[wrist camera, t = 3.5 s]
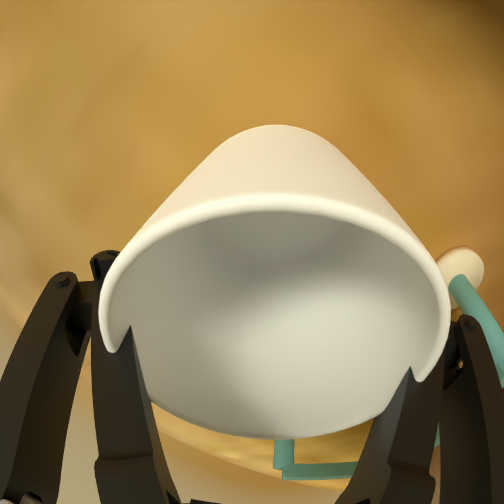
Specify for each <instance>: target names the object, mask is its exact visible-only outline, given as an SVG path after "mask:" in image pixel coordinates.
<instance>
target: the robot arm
mask: <svg viewBox="0 0 504 504" xmlns="http://www.w3.org/2000/svg"><path fill="white" fill-rule="evenodd" d="M119 254H120V252H119V251H115V250H106V251H102V252H99V253H97V254H95V255H94V256H93V257H92V258H91V260H90V265H91V269H92V273H93V277H94V281H83V282H78V279H77V277H76V274H74V273H73V272H68V271H67V272H60V273H58V274H56V275H54V276H53V277H52V278H51V279H50V280H49V282H48V283H47V285H46V287H45V288H44V290H43V292H42V294H41V295H40V297H39V299H38V301H37V303H36V304H35V306H34V308H33V310H32V312H31V314H30V316H29V318H28V320H27V322H26V324H25V326H24V328H23V330H22V332H21V334H20V336H19V338H18V340H17V343H16V344H15V347H14V349H13V351H12V353H11V356H10V358H9V361H8V363H7V365H6V368H5V370H4V373H3V375H2V378H1V381H0V504H56V502H57V498H58V493H59V486H60V478H61V469H62V461H63V454H64V447H65V441H66V435H67V429H68V424H69V419H70V414H71V408H72V404H73V400H74V395H75V391H76V387H77V383H78V379H79V375H80V371H81V367H82V364H83V360H84V357H85V353H86V350H87V346H88V343H89V340H90V337H91V376H92V396H93V408H94V419H95V429H96V437H97V444H98V451H99V456H98V459H97V460H96V461H95V466H94V470H95V478H96V483H97V488H98V493H99V497H100V502H101V504H182V503H181V501H180V498H179V495H178V493H177V490H176V487H175V485H174V483H173V480H172V478H171V475H170V473H169V469H168V466H167V463H166V460H165V456H164V453H163V449H162V446H161V442H160V438H159V434H158V430H157V427H156V422H155V418H154V414H153V410H152V405H151V401H150V399H149V396H148V393H147V390H146V386H145V382H144V378H143V374H142V370H141V366H140V362H139V357H138V353H137V349H136V344H135V340H134V336H133V332H132V327H131V325H130V327H129V329H128V331H127V333H126V335H125V337H124V339H123V341H122V343H121V345H120V347H119V349H118V350H117V351H116V352H115V353H111V352H109V351H107V349H106V347H105V344H104V342H103V338H102V334H101V331H100V325H99V314H98V312H99V301H100V293H101V289H102V286H103V283H104V280H105V277H106V275H107V273H108V271H109V269H110V268H111V266H112V264H113V262H114V261H115V259H116V258H117V256H118V255H119ZM461 361H463V367H462V368H461V369H460V367H459V363H460V362H461ZM438 422H439V436H440V500H439V504H504V394H503V390H502V387H501V383H500V380H499V376H498V373H497V369H496V366H495V363H494V360H493V357H492V354H491V351H490V348H489V345H488V343H487V340H486V337H485V335H484V332H483V329H482V327H481V325H480V323H479V322H478V321H477V320H476V319H475V318H474V317H473V316H470V315H467V314H463V315H461V316H460V317H459V319H458V320H457V322H454V321H451V320H450V328H449V333H448V338H447V341H446V344H445V346H444V349H443V352H442V354H441V356H440V357H439V359H438V361H437V363H436V365H435V366H434V368H433V369H432V371H431V372H430V373H429V375H428V376H427V377H426V379H425V380H424V381H422V382H417V381H416V380H415V378H414V375H413V372H412V369H411V366H410V367H409V369H408V370H407V372H406V373H405V375H404V377H403V379H402V380H401V382H400V384H399V386H398V388H397V389H396V391H395V393H394V395H393V397H392V399H391V401H390V402H389V404H388V405H387V407H386V408H385V410H384V411H383V412H382V413H381V414H380V415H379V416H377V417H375V418H374V421H373V424H372V427H371V430H370V432H369V435H368V438H367V441H366V443H365V446H364V449H363V451H362V454H361V456H360V459H359V461H358V464H357V466H356V468H355V471H354V473H353V475H352V478H351V480H350V482H349V484H348V486H347V488H346V489H345V490H344V492H343V493H342V494H341V495H340V496H339V498H338V499H337V501H336V502H335V504H431V502H432V499H433V495H434V492H435V486H436V481H435V478H434V477H433V476H431V475H430V474H429V469H430V464H431V460H432V455H433V450H434V445H435V440H436V434H437V428H438ZM183 504H219V503H212V502H206V501H199V500H193V499H191V501H190V503H183Z"/></svg>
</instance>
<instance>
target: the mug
mask: <svg viewBox="0 0 504 504" xmlns="http://www.w3.org/2000/svg"><path fill="white" fill-rule="evenodd" d="M98 314H99V325H100V331H101V334H102V338H103V342H104V344H105V347H106V349H107V351H109V352H111V353H115V352H116V351H117V350H118V349H119V347H120V345H121V343H122V341H123V339H124V337H125V335H126V333H127V331H128V329H129V327H130V325H131V327H132V332H133V336H134V340H135V344H136V349H137V353H138V357H139V362H140V366H141V370H142V374H143V378H144V382H145V386H146V390H147V393H148V396H149V399H150V401H151V402H153V403H154V404H156V405H157V406H159V407H160V408H162V409H163V410H165V411H167V412H169V413H170V414H172V415H174V416H176V417H178V418H180V419H182V420H185V421H187V422H189V423H191V424H194V425H197V426H200V427H202V428H205V429H208V430H212V431H215V432H219V433H223V434H228V435H233V436H238V437H245V438H253V439H267V440H287V439H301V438H309V437H316V436H321V435H326V434H330V433H334V432H338V431H341V430H345V429H348V428H351V427H354V426H356V425H359V424H362V423H364V422H366V421H368V420H370V419H373V418H375V417H377V416H379V415H380V414H381V413H382V412H383V411H384V410H385V408H386V407H387V405H388V404H389V402H390V401H391V399H392V397H393V395H394V393H395V391H396V389H397V388H398V386H399V384H400V382H401V380H402V379H403V377H404V375H405V373H406V372H407V370H408V369H409V367H410V366H411V369H412V372H413V375H414V378H415V380H416V381H417V382H422V381H424V380H425V379H426V377H427V376H428V375H429V373H430V372H431V371H432V369H433V368H434V366H435V365H436V363H437V361H438V359H439V357H440V356H441V354H442V352H443V349H444V346H445V344H446V341H447V338H448V333H449V328H450V318H451V306H450V298H449V293H448V289H447V285H446V282H445V280H444V278H443V275H442V273H441V271H440V268H439V267H438V265H437V264H436V262H435V261H434V259H433V258H432V257H431V255H430V254H429V252H428V251H427V250H426V248H425V247H424V246H423V244H422V243H421V242H420V240H419V239H418V238H417V237H416V235H415V234H414V233H413V232H412V230H411V229H410V228H409V227H408V225H407V224H406V223H405V222H404V220H403V219H402V218H401V217H400V216H399V214H398V213H397V212H396V211H395V210H394V208H393V207H392V206H391V205H390V204H389V203H388V202H387V200H386V199H385V198H384V197H383V196H382V195H381V194H380V193H379V191H378V190H377V189H376V188H375V187H374V186H373V185H372V184H371V183H370V182H369V181H368V179H367V178H366V177H365V176H364V175H363V174H362V173H361V172H360V171H359V170H358V169H357V168H356V167H355V166H354V165H353V164H352V163H351V162H350V161H349V160H348V159H347V158H346V157H345V156H344V155H343V154H342V153H341V152H340V151H339V150H338V149H337V148H336V147H335V146H333V145H332V144H331V143H329V142H328V141H327V140H325V139H324V138H322V137H320V136H318V135H316V134H315V133H313V132H310V131H307V130H305V129H302V128H298V127H293V126H287V125H265V126H260V127H254V128H251V129H248V130H245V131H243V132H241V133H239V134H237V135H235V136H233V137H231V138H229V139H228V140H226V141H225V142H223V143H222V144H221V145H219V146H218V147H217V148H216V149H215V150H214V151H213V152H212V153H211V154H210V155H209V156H208V157H207V158H206V159H205V160H204V161H203V162H202V163H201V164H200V165H199V166H198V167H197V168H196V169H195V170H194V171H193V172H192V173H191V174H190V175H189V176H188V177H187V178H186V179H185V180H184V181H183V182H182V183H181V184H180V185H179V186H178V187H177V189H176V190H175V191H174V192H173V193H172V194H171V195H170V196H169V197H168V198H167V199H166V200H165V201H164V203H163V204H162V205H161V206H160V207H159V208H158V209H157V210H156V211H155V213H154V214H153V215H152V216H151V217H150V218H149V219H148V221H147V222H146V223H145V224H144V225H143V226H142V227H141V229H140V230H139V231H138V232H137V233H136V235H135V236H134V237H133V238H132V239H131V240H130V242H129V243H128V244H127V245H126V247H125V248H124V249H123V250H122V251H121V253H120V254H119V255H118V256H117V258H116V259H115V261H114V262H113V264H112V266H111V268H110V269H109V271H108V273H107V275H106V277H105V280H104V283H103V286H102V289H101V293H100V301H99V312H98Z"/></svg>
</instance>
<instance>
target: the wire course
mask: <svg viewBox="0 0 504 504" xmlns="http://www.w3.org/2000/svg"><path fill="white" fill-rule="evenodd" d="M435 262H436V264H437V265H438V267H439V268H440V271H441V273H442V275H443V278H444V280H445V282H446V285H447V289H448V293H449V298H450V306H451V310H452V309H455V308H457V307H459V308H460V309H461V311H462V313H463V314H467V315H470V316H473V317H474V318H475V319H476V320H477V321H478V322H479V323H480V325H481V327H482V329H483V332H484V335H485V337H486V340H487V343H488V345H489V348H490V351H491V354H492V357H493V360H494V363H495V366H496V369H497V373H498V376H499V380H500V383H501V387H502V388H503V387H504V333H503V331H502V330H501V328H500V327H499V325H498V323H497V322H496V320H495V318H494V317H493V315H492V314H491V312H490V311H489V309H488V308H487V306H486V305H485V303H484V302H483V300H482V299H481V297H480V296H479V294H478V293H477V292H476V291H477V289H478V288H479V286H480V284H481V281H482V279H483V274H484V265H483V262H482V260H481V258H480V257H479V256H478V255H477V254H476V253H475V251H473V250H472V249H471V248H468V247H456V248H453V249H451V250H449V251H447V252H445V253H444V254H443V255H441V256H440V257H439V258H438V259H437V260H436V261H435ZM439 444H440V436H439V422H438V428H437V434H436V440H435V445H434V448H435V447H436V446H438V445H439ZM357 464H358V461H357V462H344V463H325V464H294V439H287V440H275V443H274V462H273V468H274V469H277V470H282V480H327V479H342V478H352V475H353V473H354V471H355V468H356V466H357Z"/></svg>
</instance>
